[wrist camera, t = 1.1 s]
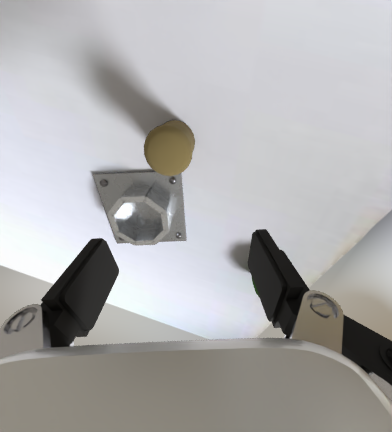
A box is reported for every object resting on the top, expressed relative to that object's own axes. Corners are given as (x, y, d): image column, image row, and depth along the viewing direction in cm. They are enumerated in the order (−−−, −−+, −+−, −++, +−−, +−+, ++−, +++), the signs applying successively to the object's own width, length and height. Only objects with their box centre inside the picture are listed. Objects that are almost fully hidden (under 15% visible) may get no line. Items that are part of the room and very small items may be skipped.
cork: (154, 156, 27) (133, 175, 17) (159, 114, 24) (138, 110, 14) (189, 165, 28) (188, 189, 18) (199, 127, 25) (204, 131, 15)
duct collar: (94, 173, 28) (78, 182, 24) (181, 170, 28) (179, 178, 24) (118, 241, 36) (109, 256, 32) (186, 238, 36) (185, 253, 32)
